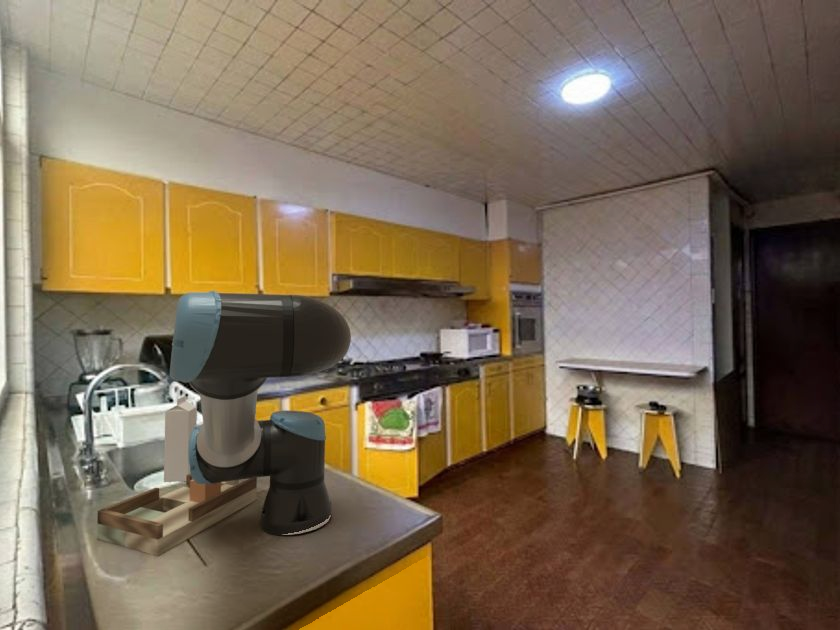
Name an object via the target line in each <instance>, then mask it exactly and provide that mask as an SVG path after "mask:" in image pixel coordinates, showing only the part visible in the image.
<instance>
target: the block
mask: <svg viewBox="0 0 840 630" xmlns="http://www.w3.org/2000/svg"><path fill="white" fill-rule="evenodd" d="M219 493H221V482H218V483H216V484H198V483H196V482H195V481H194V480H193V479H192V480H190V501H194V502H198V503H201V502H203V501H205V500H207V499H209V498H211V497H213V496H215V495H217V494H219Z"/></svg>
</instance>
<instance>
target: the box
mask: <svg viewBox="0 0 840 630" xmlns="http://www.w3.org/2000/svg"><path fill="white" fill-rule="evenodd" d="M257 479H258V477H257V478H249V479H244V480H243V481H242V482H239V484H237V485H234V486H233V485H228V484H225V482H221V493H219V494H217V495H215V496H213V497H211V498H209V499H207V500H205V501H203V502H201V503H198V502H194V501H190V480H192V476H191V474H188V475H186V481H185V482H186V484H185V485H184V486H182V487H180V488H177V489H175V490H172V491H170V492H168V493H166V494H163V495H160V488H159V487H154V488H151V489H148V490H146V491H144V492H141V493H139V494H136V495H134V496H132V497H129V498H127V499H124V500H121V501H119V502H117V503H114V504H112V505H109V506H106V507H105V508H102V509H99V510H97V523H96V525H97V527H96V528H97V529H96V530H97V531H96V532H97V533H96V539H97V540H100V541H104V542H108V543H111V544H114V545H117V546H121V547H125V548H127V549H132V550H136V551H138V552H143V553H146V554H148V555H153V556H156V557H159V556H161V554H163V553H165V552H167V551H169V550H170V549H172V548H174V547H177V546H178V545H179V544H181V543H183V542H185V541H186V540H188V539H190V538H192V537H194V536H196V535H198V534H199V533H200V532H202V531H204V530H206V529H208V528H210V527H211V526H213V525H215V524H216V523H218V522H220V521H222V520H223V519H225V518H227V517H229V516H231V515H232V514H233V513H236V512H237V511H239V510H241V509H242V508H244V507H246V506H248V505H250V504H252V503H253V502H255V501H257V494H258V493H257V492H258V491H257V490H258V489H257V487H258V486H257V485H258V480H257Z"/></svg>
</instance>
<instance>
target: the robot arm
mask: <svg viewBox="0 0 840 630" xmlns="http://www.w3.org/2000/svg"><path fill="white" fill-rule="evenodd" d="M175 312H176V313H175V320H174V328H173V338H172V345H171V346H172V348H171V355H170V367H169V377H170V379H171V380H173V381H175V382H182V383H184V384H185V383H189V385H190V387H191V388H192V389H193V390H194V391H195V392H196V393H198V394H199V397H200V406H201V415H202V424H201V425H196V427H195V428H194V429H193V430H192V432H191V435H190V440H189V465H190V473H191V476H192V479H193V480H194V481H195V482H196V483H198V484H216V483H218V482H225V484H228V485H233V486H234V485H237V484H239V483H240V480H247V479H249V478H257V479H258V478H262V477H263V478H264V477H265V478H266V477H269V487H268V491H267V493H266V496H265V499H264V502H263V504H262V507H261V510H260V521H259V522H260V527H261V529H262V530H263V531H265V532H266V533H269V534H271V535H277V536H283V535H282V534H288V533H294V532H299V531H302V530H306V529H309V528H311V527H314V526H316V525H318V524H320V523H322V522H324V521H325V520H326V519H328V518H329V516H330V515H331V512H332V513H333V506H332V502H331V499H330V496H329V492H328V489H327V486H326V482H325V464H326V461H325V458H326V457H325V456H326V440H327V436H326V425H325V421H324V419H323V418H322V417H321V416H320V415H319V414H315V413H311V412H307V411H300V410H279V411H278V410H277V411H274V412H272V413H271V415H270V417H269V419H267V420H266V419H264V420H261V419H260V420H257V419H256V413H257V411H256V410H257V402H258V401H257V400H258V390H259V389H260V388H261V387H262V386H263V385H264V384H265V383H266V382H267V380H268V379H269V378H271V379H273V378H290V377H291V378H292V377H293V378H294V377H303V376H309V375H312V374H315V373H320V372H323V371H325V370H328V369H330V368H332V367H334V366H336V365H338V363H340V362H341V361H342V360H343V359H344V357H345V356H346V355H347V353H348V351H349V349H350V346H351V342H352V341H351V340H352V335H351V328H350V326H349V323H348V322H347V320H346V319H345V317H344V316H343V314H341V312H340V311H338V310H337V309H336V308H334V307H333V306H331V305H330V304H328V303H326V302H324V301H321V300H320V299H316V298H313V297H310V296H306V295H297V294H270V293H269V294H267V293H266V294H263V293H230V292H218V291H216V290H211V291H208V292H206V291H205V292H187V293H185V294H183V295H182V296H180V298H179V299H178V301H177V304H176V311H175Z"/></svg>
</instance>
